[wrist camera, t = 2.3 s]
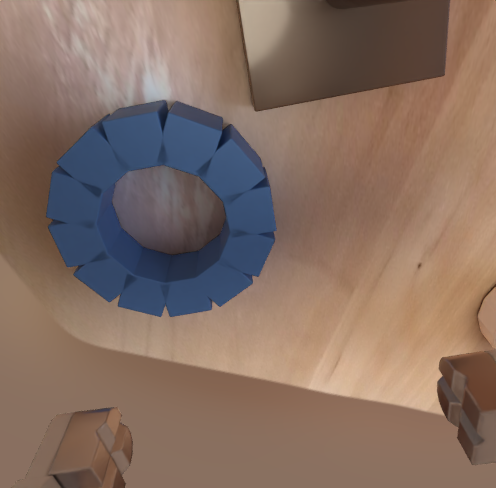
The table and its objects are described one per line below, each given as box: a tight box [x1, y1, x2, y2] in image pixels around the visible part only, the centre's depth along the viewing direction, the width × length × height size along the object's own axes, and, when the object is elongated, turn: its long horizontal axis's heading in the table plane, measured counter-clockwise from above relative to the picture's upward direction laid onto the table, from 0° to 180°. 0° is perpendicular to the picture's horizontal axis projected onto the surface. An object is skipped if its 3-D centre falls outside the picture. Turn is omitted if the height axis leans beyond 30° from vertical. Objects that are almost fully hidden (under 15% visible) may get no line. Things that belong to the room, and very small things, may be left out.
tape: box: [46, 100, 276, 317], centre depth 21 cm, size 11×11×3 cm
